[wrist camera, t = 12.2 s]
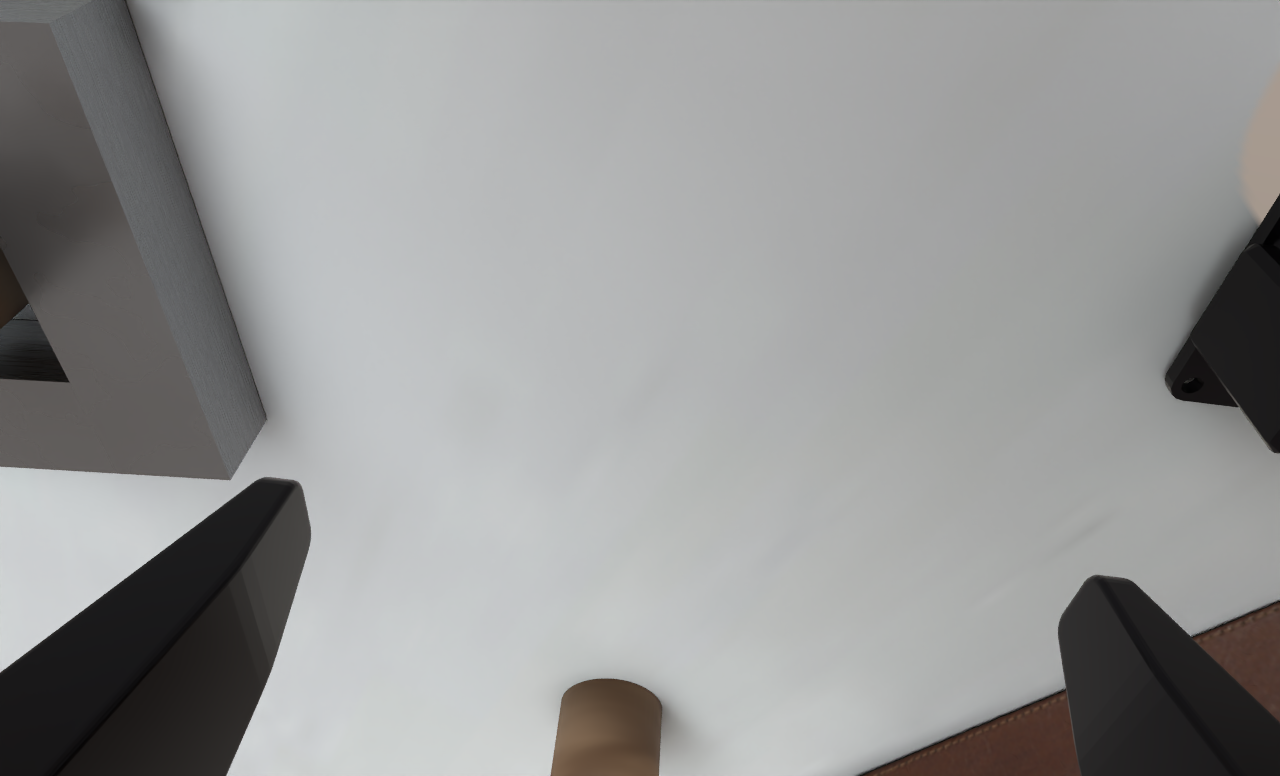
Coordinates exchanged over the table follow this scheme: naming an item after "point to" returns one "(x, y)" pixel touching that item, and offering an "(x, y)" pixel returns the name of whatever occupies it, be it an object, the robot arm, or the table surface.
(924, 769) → the letter holder
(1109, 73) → the table surface
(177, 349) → the hole collar
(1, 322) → the tall pin
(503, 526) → the table surface
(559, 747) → the stub pin
